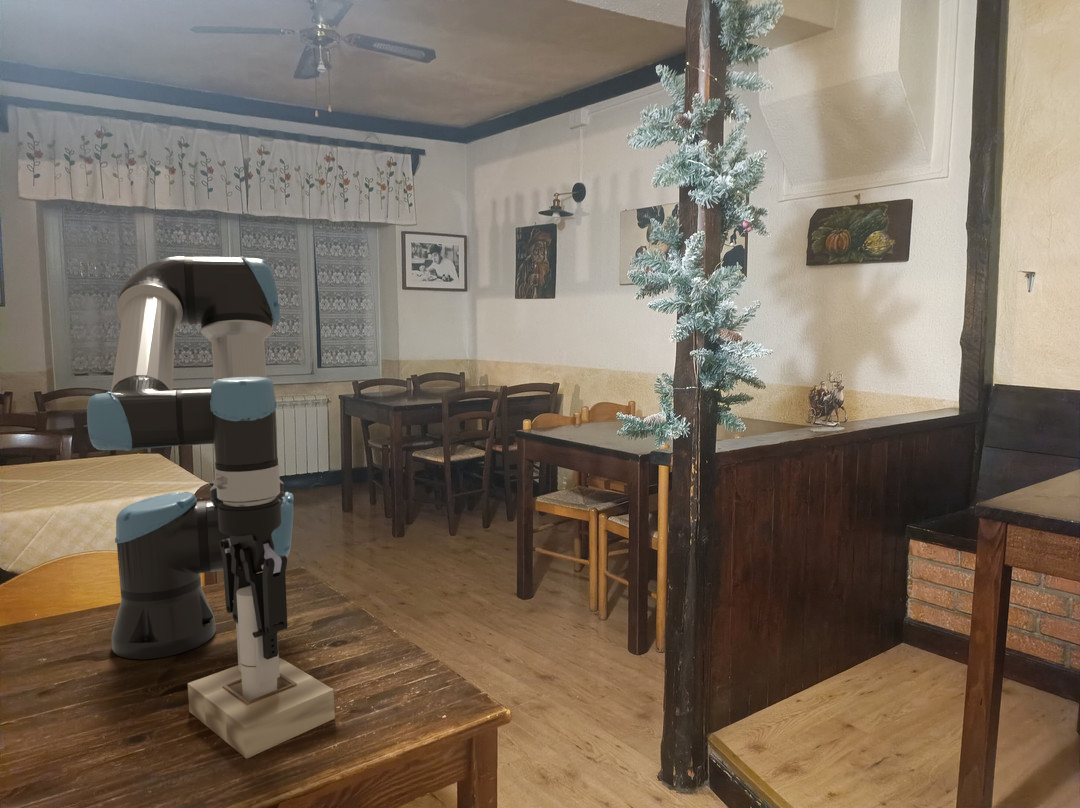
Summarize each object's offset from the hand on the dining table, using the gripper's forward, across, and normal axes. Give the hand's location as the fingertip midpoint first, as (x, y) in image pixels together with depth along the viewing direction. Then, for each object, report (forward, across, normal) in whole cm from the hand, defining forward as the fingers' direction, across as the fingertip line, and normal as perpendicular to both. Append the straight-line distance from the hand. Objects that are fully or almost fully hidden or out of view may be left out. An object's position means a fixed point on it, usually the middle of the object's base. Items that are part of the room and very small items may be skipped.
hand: (259, 673), depth 99 cm
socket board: (+6, 0, 0) cm, 6 cm away
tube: (+4, 0, 0) cm, 4 cm away
